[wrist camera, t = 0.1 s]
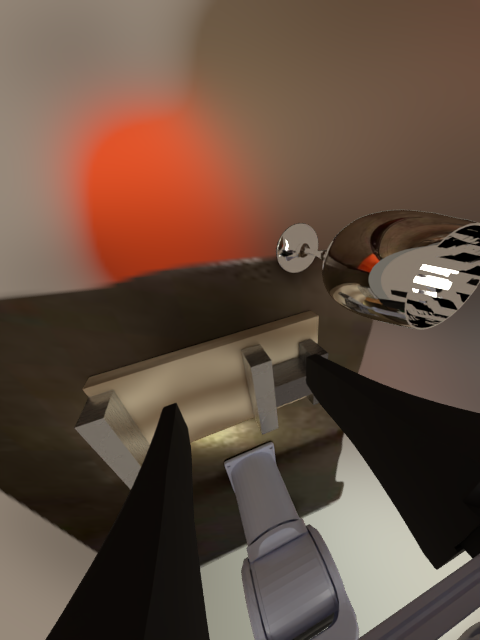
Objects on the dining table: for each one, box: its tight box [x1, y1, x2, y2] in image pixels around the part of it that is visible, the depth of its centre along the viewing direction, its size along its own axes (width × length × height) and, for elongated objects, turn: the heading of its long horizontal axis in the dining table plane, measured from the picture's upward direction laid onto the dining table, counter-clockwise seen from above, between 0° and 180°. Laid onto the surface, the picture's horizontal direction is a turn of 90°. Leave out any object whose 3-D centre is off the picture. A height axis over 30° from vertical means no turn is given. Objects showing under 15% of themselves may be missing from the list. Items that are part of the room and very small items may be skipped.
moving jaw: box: [241, 339, 328, 435], centre depth 22 cm, size 10×8×3 cm
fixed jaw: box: [75, 390, 150, 489], centre depth 19 cm, size 10×2×3 cm, turn 10°
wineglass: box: [276, 210, 480, 329], centre depth 14 cm, size 6×6×12 cm
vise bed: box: [83, 311, 319, 444], centre depth 23 cm, size 12×23×2 cm, turn 100°
